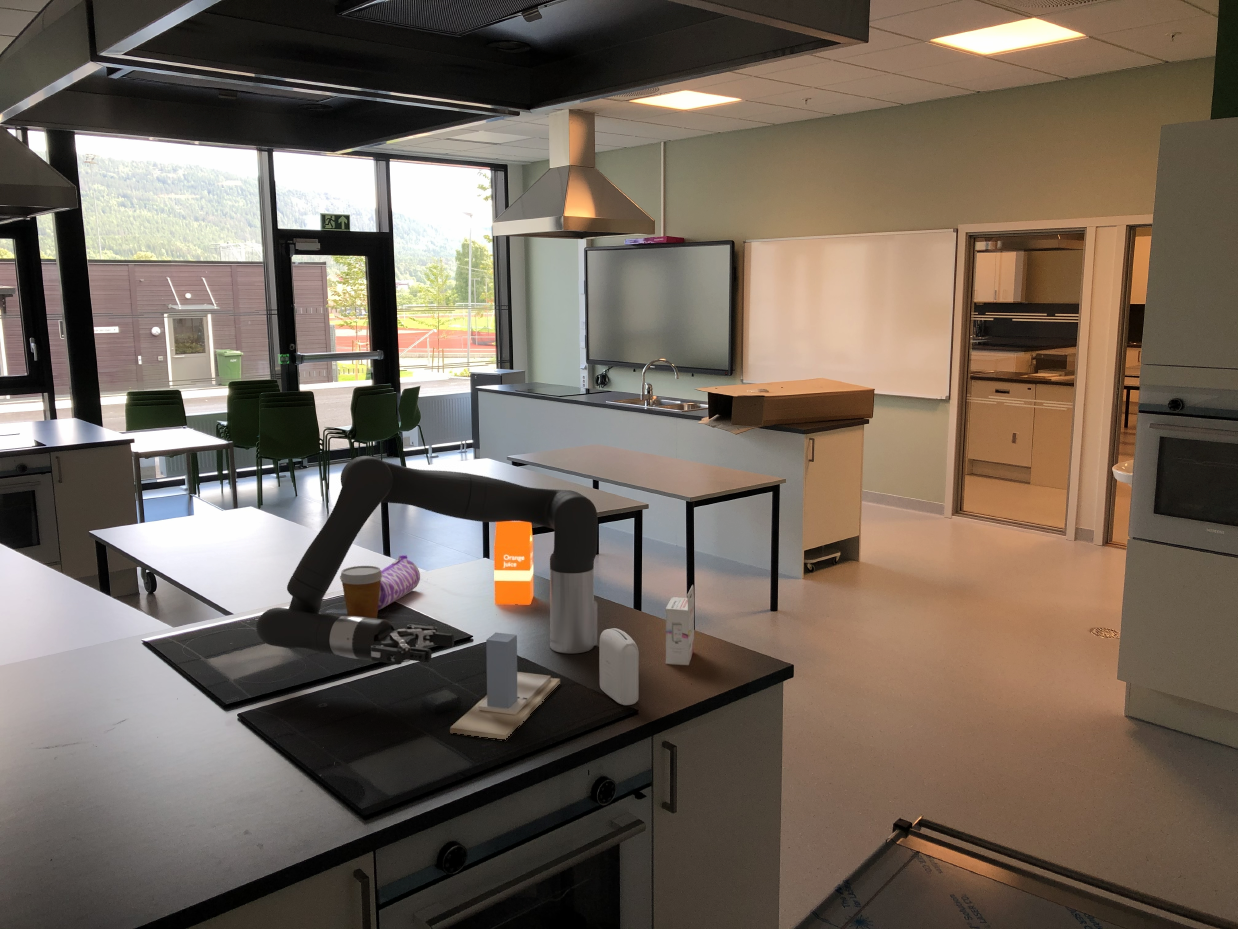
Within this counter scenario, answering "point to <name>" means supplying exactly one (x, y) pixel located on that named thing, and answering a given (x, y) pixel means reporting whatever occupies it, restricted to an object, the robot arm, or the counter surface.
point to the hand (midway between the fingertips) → (442, 648)
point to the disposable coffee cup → (361, 590)
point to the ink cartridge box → (680, 629)
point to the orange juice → (513, 563)
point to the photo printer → (618, 666)
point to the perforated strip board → (504, 724)
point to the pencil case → (397, 580)
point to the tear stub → (502, 675)
